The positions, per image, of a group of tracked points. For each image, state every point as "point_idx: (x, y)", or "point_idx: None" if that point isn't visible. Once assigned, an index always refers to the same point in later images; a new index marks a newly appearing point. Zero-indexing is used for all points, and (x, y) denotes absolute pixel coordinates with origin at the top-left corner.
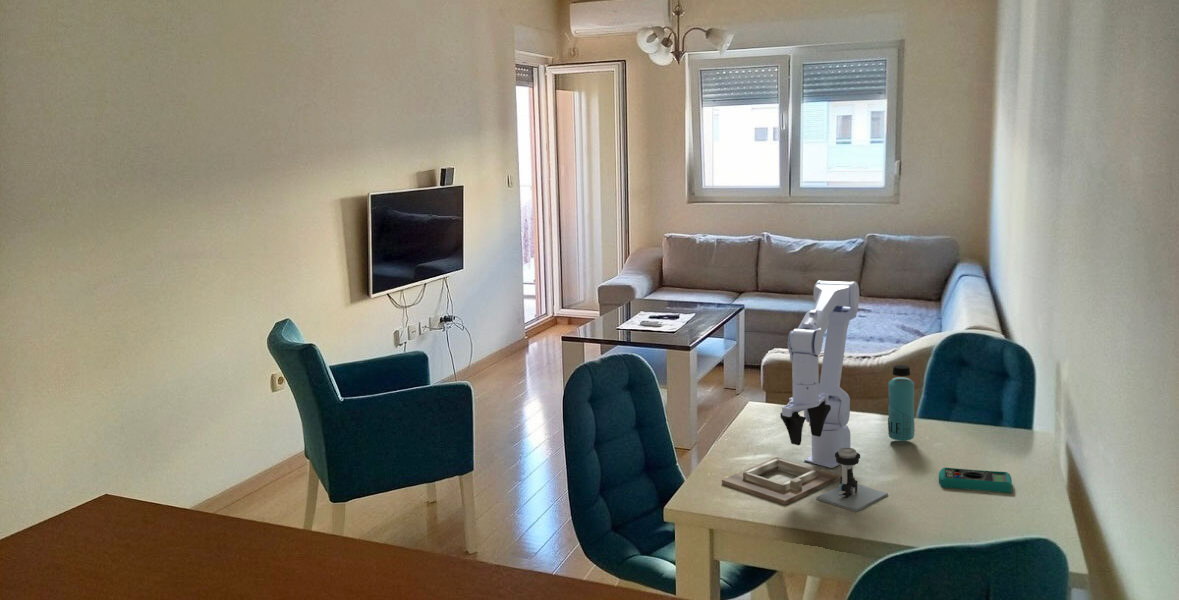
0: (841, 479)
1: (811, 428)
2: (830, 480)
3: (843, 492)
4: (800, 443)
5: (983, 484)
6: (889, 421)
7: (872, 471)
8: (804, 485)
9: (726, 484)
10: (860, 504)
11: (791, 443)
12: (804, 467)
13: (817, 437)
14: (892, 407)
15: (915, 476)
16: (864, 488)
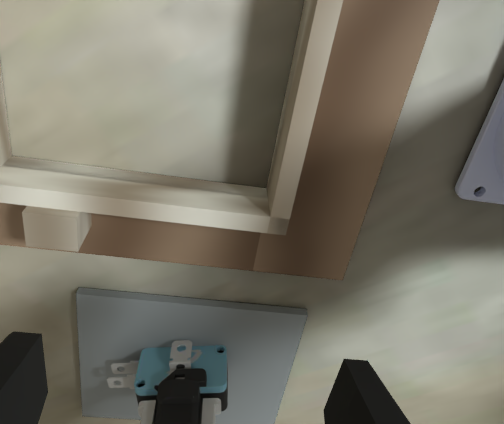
0: (158, 400)
1: (364, 413)
2: (272, 269)
3: (126, 387)
4: (39, 406)
5: None
6: None
7: (480, 321)
8: (130, 220)
9: None
10: (130, 410)
11: (9, 335)
12: (283, 163)
13: None
14: None
15: (474, 419)
16: (271, 374)
